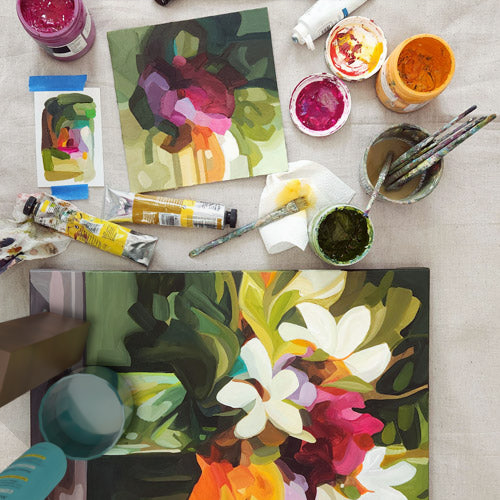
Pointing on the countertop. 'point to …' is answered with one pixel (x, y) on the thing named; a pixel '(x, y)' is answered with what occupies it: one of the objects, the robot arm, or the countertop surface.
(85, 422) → the bowl
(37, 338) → the pedestal
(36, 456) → the tube
